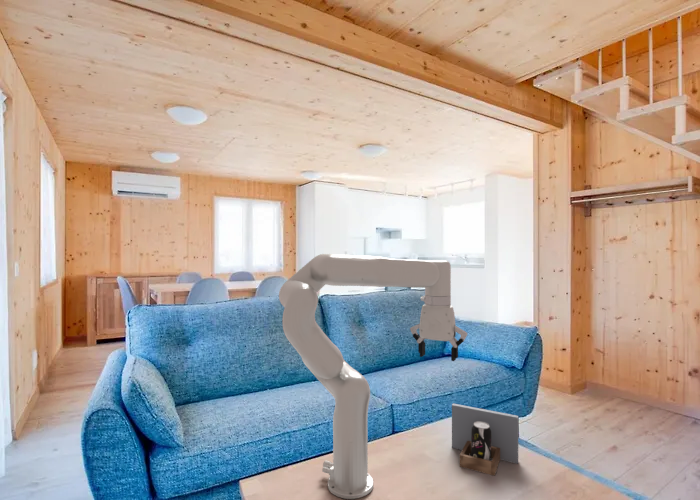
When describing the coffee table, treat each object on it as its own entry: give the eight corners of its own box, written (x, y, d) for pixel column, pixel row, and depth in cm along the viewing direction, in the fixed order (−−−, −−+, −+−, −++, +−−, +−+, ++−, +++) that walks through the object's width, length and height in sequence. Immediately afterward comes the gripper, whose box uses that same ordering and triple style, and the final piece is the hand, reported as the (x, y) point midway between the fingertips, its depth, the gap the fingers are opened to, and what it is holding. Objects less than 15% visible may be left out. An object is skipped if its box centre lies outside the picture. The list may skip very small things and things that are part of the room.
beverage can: (492, 470, 117) (493, 429, 117) (471, 467, 118) (472, 427, 118) (489, 460, 123) (490, 421, 123) (469, 457, 124) (470, 419, 124)
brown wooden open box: (459, 466, 119) (459, 454, 119) (467, 451, 128) (467, 440, 128) (494, 475, 114) (494, 463, 114) (500, 459, 123) (500, 448, 123)
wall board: (451, 447, 130) (451, 405, 130) (453, 445, 132) (453, 403, 131) (517, 463, 120) (517, 417, 120) (518, 461, 122) (518, 415, 122)
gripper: (406, 300, 121) (406, 357, 121) (463, 304, 112) (463, 365, 112) (414, 298, 127) (414, 351, 127) (469, 301, 119) (469, 358, 119)
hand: (437, 357), depth 120 cm, fingers open, 9 cm apart
